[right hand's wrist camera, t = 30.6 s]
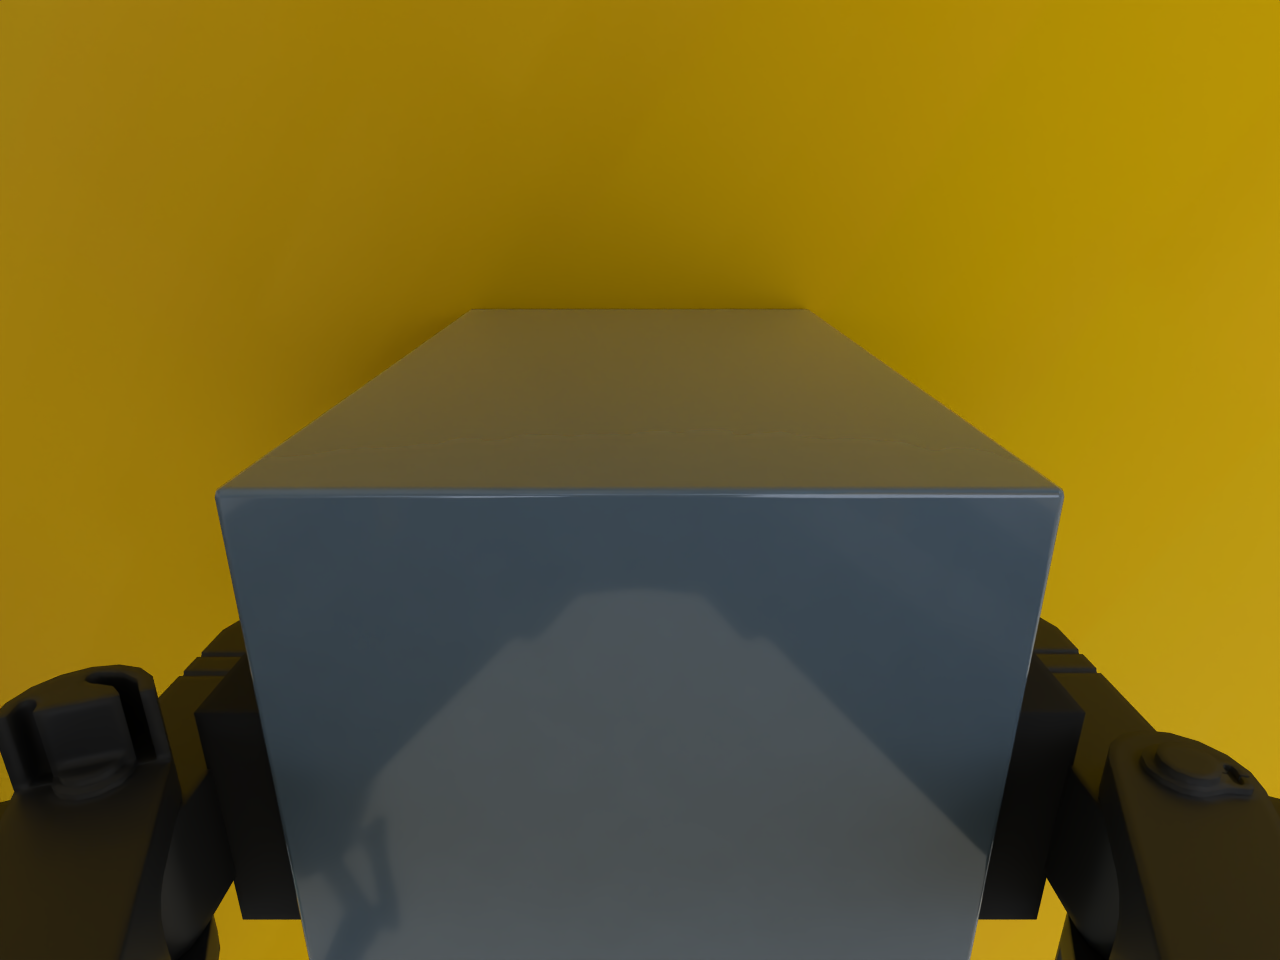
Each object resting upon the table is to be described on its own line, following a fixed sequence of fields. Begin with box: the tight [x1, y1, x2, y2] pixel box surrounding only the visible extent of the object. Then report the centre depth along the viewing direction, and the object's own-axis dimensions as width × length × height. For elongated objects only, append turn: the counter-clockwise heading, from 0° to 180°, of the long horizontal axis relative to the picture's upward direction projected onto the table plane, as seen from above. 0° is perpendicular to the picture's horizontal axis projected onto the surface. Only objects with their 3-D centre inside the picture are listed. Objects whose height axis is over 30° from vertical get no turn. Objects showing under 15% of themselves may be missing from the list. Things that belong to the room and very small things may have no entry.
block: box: [215, 309, 1064, 960], centre depth 13 cm, size 8×7×11 cm
